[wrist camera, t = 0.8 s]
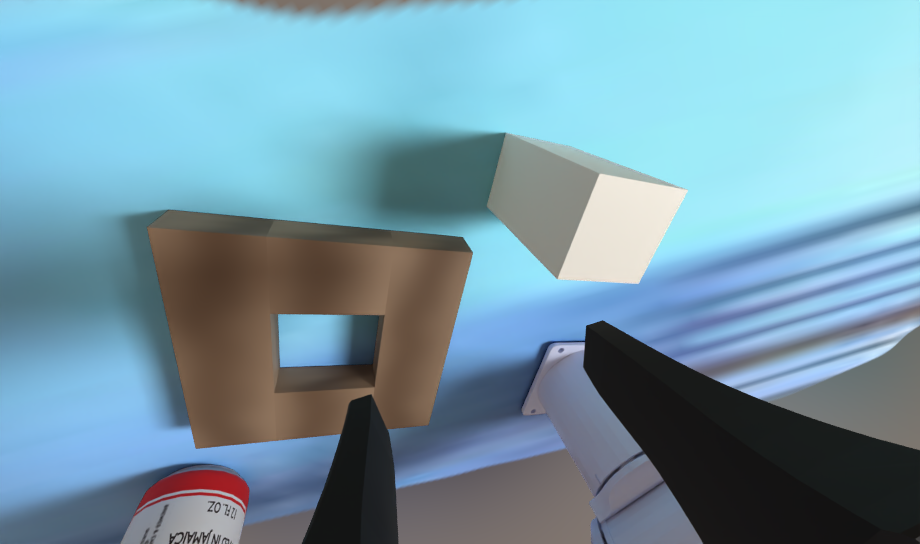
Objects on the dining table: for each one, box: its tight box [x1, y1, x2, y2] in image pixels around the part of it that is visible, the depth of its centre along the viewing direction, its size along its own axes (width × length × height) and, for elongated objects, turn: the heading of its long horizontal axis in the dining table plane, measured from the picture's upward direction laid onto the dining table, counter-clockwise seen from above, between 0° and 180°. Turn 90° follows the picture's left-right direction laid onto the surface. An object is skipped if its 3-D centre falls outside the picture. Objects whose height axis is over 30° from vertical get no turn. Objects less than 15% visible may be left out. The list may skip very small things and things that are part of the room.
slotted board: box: [147, 210, 473, 449], centre depth 20 cm, size 14×14×2 cm
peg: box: [487, 133, 688, 284], centre depth 16 cm, size 4×4×8 cm
